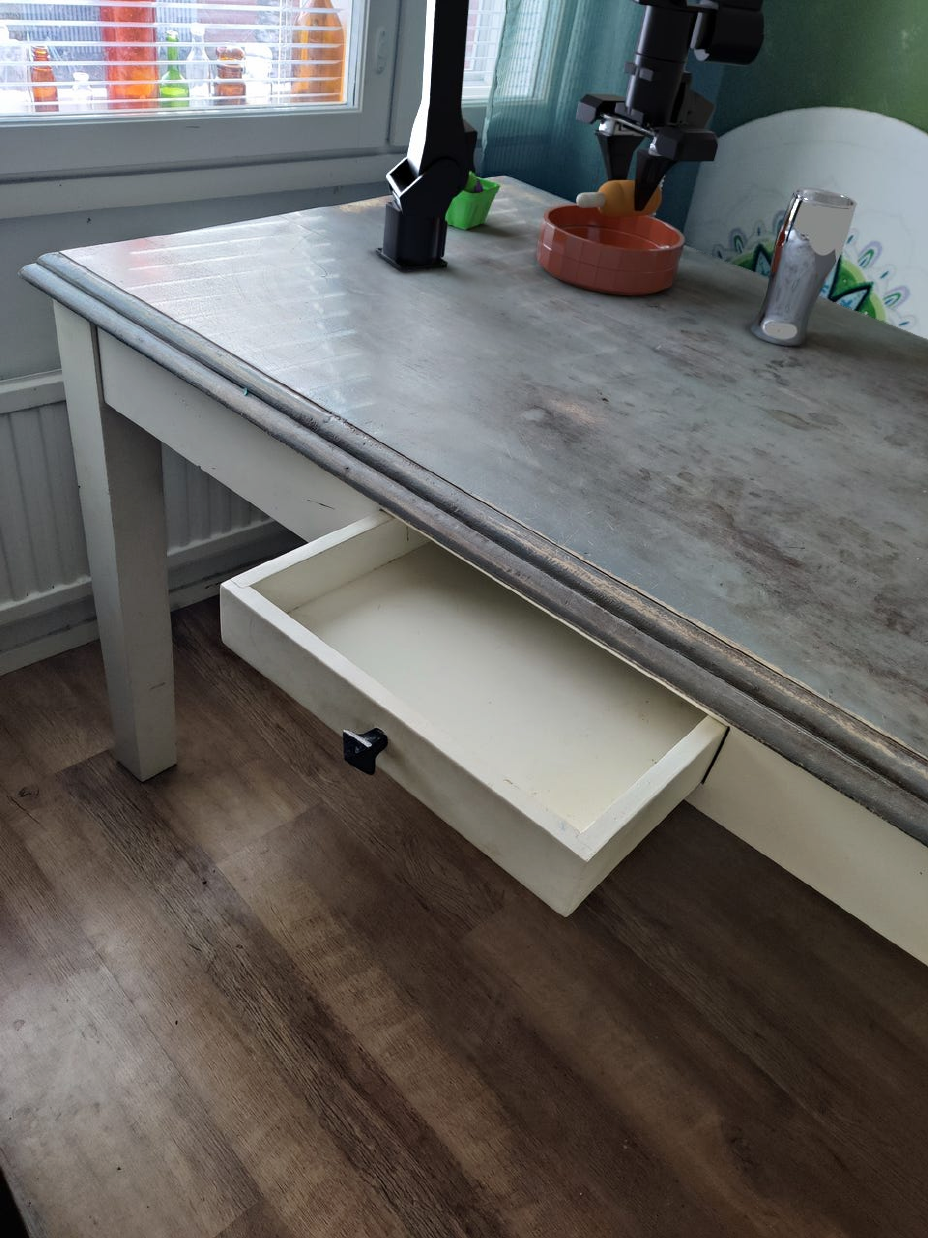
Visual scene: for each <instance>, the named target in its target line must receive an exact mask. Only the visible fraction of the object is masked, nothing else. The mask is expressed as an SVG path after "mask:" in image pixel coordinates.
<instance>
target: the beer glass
mask: <svg viewBox="0 0 928 1238" xmlns="http://www.w3.org/2000/svg"><path fill="white" fill-rule="evenodd" d="M857 205H858V203H857V202H856V200H854V199H853V198H851V197H848V196H846V195H844V194H841V193H838V192H835V191H830V190H826V189H821V188H816V187H815V188H813V187H796V188H795V189H794V190H793V192H792V195H791V197H790V200H789V201H788V204H787V207H786V209H785V212H784V215H783V217H782V220H781V222H780V226H779V227H778V231H777V235H776V238H775V240H774V241H775V242H774V245H773V246H774V247H773V250H772V256H771V262H770V266H769V267H770V269H769V274H768V282H767V287H766V293H765V296H764V299H763V302H762V305H761V307H760V309H759V312H758V313H757V315H756V317H755V319H754V321H753V322H752V325H751V328H750V329H751V332H752V334H753V335H754V336H755V337H756V338H759V339H761V340H763V341H765V342H768V343H770V344H774V345H777V346H778V345H779V346H784V347H797V346H800V345H803V344H804V343H805V342H806V341H805V340H806V337H807V332H808V325H809V321H810V316H811V313H812V311H813V308H814V306H815V304H816V302H817V300H818V299H819V297H820V295H821V293H822V290H824V287H825V286H826V284H827V282H828V280H829V278H830V277H831V275H832V273H833V271H834V269H835V267H836V265H837V263H838V262H839V259H840V257H841V254H842V251H843V250H844V247H845V244H846V241H847V238H848V235H849V232H850V229H851V225H852V222H853V218H854V215H855V210H856V208H857Z"/></svg>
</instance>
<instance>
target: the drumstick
mask: <svg viewBox="0 0 928 1238" xmlns="http://www.w3.org/2000/svg"><path fill="white" fill-rule="evenodd" d="M634 190H635V179H627V180H613V181H609V182H608V181H607V182H605V183H603V184H602V185H601V186H600V187H599V189H598V190H597V191H594V192H593V191H592V192H590V191H589V192H581V193H579V194H578V195H577V197H576V200H575V201H576V204H577V205H578V206H579V207H581V208H590V207H598V209H599V211H600V212H601V213H602V214H603V215H605V216H607V217H631V216H647V215H650V214H652V213H654V212H655V213H656V211H657V210H658V209H659V207H660V206H661V203H662V199H663V193H662V191H661V190H662V188H661V189H660V187H659V186H658V187H657V188H656V190H655V192H654V193H653V195H652V197H651V198H650V200H649V202H648V203H647V205H646V207H645V208H644V210H643V211H638V212H637V211H635V209H634Z"/></svg>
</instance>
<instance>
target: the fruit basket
mask: <svg viewBox="0 0 928 1238" xmlns="http://www.w3.org/2000/svg"><path fill="white" fill-rule="evenodd" d="M500 188H501V184H499V183H498V182H496V181H491V180H488V179H485V178H482V177H478V176H477V175H476V173H473V172H471V171H469V179H468V184H467V186H466V188H465V189H464V190H463V191H462V192H461V193H460V194H459V195H458V196H457V197H455V198H453V200H452V202H451V204H450V206H449V208H448V211H447V213H446V218H445V220H446V221H447V222H448V225H449V226H453V227H455V228H458V229H460V230H464V231H465V230H468V229H471V228H474V227H477V226H478V225H482V224H484V223H485V222H486V219H487V217H488V214H489V213H490V209H491V207H492V204H493V203H494V200H495V197H496V195H497V194H498V192H499V190H500Z"/></svg>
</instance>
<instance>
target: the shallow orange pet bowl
mask: <svg viewBox="0 0 928 1238" xmlns="http://www.w3.org/2000/svg"><path fill="white" fill-rule="evenodd" d="M685 243H686V239H685V235H684V234H683V233H682V232H681V231H680V230H679V229H677V228H676V227H675V226H673V225H671V224H669V223H668V222H665V221H663V220H661V219H659V218H656V217H655V218H653V217H650V216H631V217H607V216H605V215H603V214H602V213H601V212H600V211H599V209H598V207H590V208H581V207H579V206H578V205H577V203H568V204H560V205H559V204H558V205H554V206H551V207H549V208H548V209H546V210H544V211H543V215H542V219H541V225H540V231H539V237H538V242H537V248H536V254H535V258H536V260H537V262H538V264H539V265H540V266H541V267H543V268H544V270H546V272H547V273H549V274H550V275H552V277H554V278H557V280H561V281H563V282H565V283H566V284H570V285H573V286H576V287H579V288H581V289H585V290H588V291H593V292H597V293H603V294H604V293H605V294H610V295H618V296H645V295H651V294H655V293H658V292H661V291H664V290H665V289H668V288H670V287H671V286H672V285H673V284H674V282H675V281H676V276H677V272H678V269H679V265H680V260H681V257H682V255H683V250H684V247H685Z"/></svg>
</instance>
